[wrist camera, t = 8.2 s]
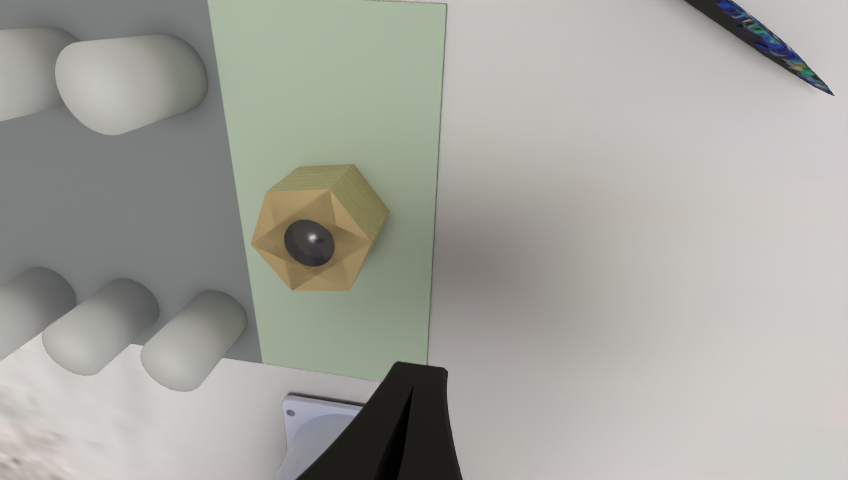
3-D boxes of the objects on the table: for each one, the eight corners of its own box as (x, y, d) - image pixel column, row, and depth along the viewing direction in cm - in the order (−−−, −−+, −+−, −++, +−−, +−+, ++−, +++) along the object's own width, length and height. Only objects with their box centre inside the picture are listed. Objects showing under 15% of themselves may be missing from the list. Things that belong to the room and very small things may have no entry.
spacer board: (425, 385, 25) (410, 453, 21) (-5, 320, 28) (-82, 368, 25) (446, 4, 17) (428, 5, 13) (-165, -25, 20) (-319, -31, 16)
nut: (396, 254, 21) (379, 291, 19) (293, 256, 22) (263, 291, 20) (382, 162, 19) (361, 188, 17) (271, 168, 20) (234, 193, 18)
